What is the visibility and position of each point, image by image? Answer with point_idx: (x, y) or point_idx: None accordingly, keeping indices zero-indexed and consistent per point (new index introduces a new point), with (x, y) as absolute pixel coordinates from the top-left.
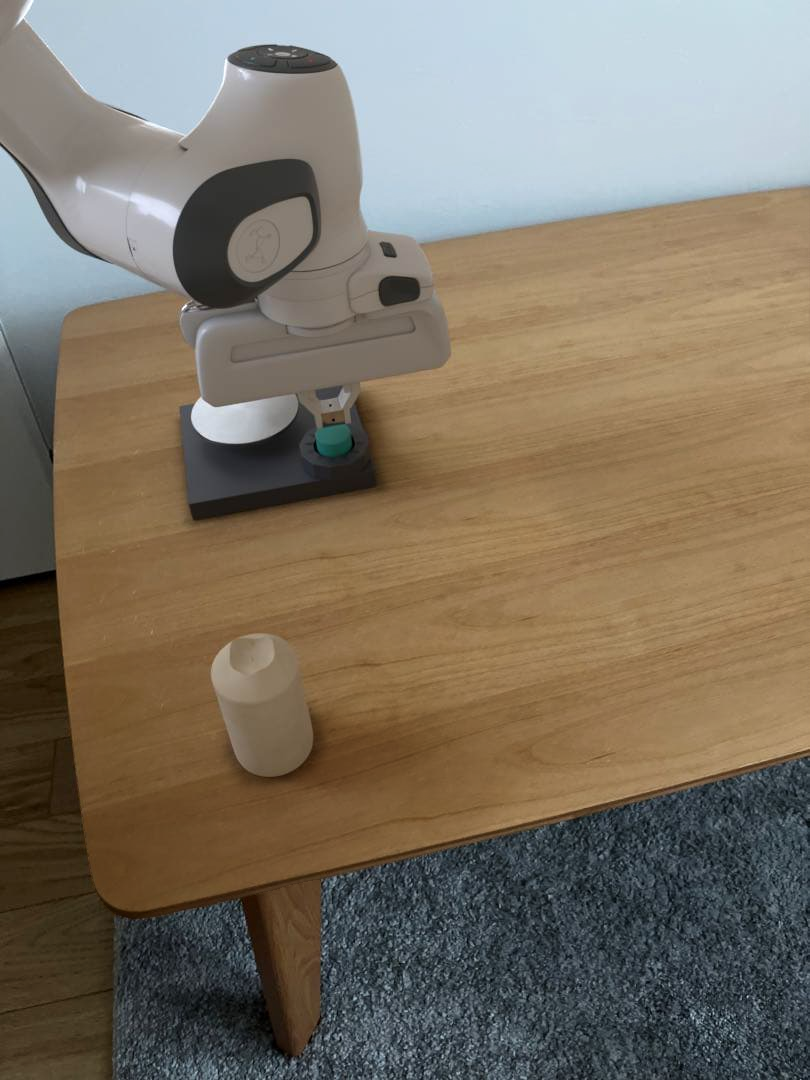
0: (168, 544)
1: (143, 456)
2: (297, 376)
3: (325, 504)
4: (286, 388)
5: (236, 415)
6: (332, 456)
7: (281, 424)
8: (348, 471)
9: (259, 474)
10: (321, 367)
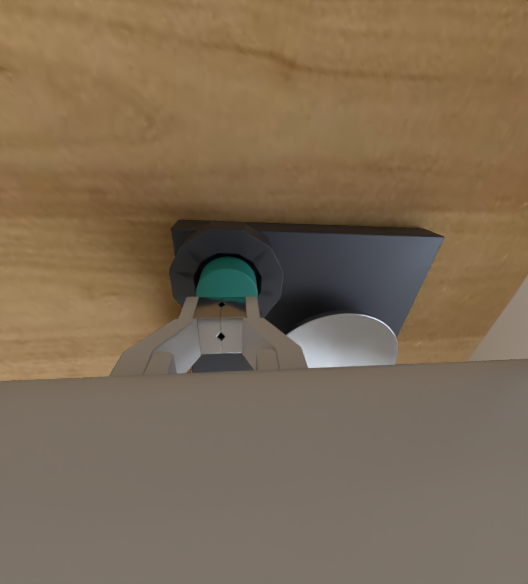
0: (469, 193)
1: (416, 337)
2: (342, 439)
3: (258, 205)
4: (370, 388)
5: (344, 361)
6: (235, 258)
7: (296, 336)
8: (214, 224)
9: (339, 267)
10: (225, 483)
